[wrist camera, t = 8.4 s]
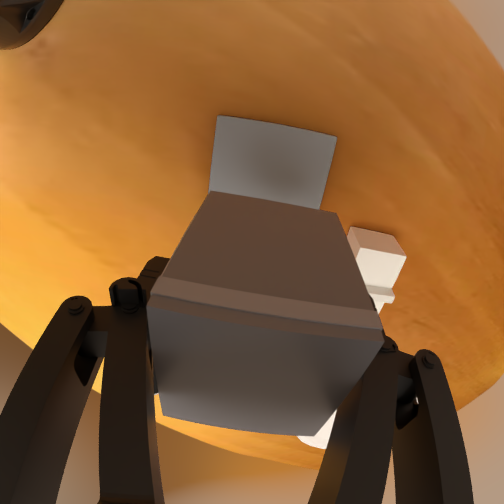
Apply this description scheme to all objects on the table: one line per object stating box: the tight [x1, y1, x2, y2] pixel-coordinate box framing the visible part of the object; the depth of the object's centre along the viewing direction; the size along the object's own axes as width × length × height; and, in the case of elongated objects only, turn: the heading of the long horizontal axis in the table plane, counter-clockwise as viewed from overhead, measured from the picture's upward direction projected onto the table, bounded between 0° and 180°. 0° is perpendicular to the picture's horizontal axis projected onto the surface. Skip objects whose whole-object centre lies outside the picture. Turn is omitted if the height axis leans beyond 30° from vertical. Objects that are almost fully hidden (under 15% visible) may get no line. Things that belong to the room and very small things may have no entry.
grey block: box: [146, 190, 385, 436], centre depth 12 cm, size 6×6×8 cm
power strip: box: [347, 226, 407, 314], centre depth 34 cm, size 33×5×5 cm, turn 171°
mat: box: [208, 115, 337, 210], centre depth 25 cm, size 10×10×1 cm
